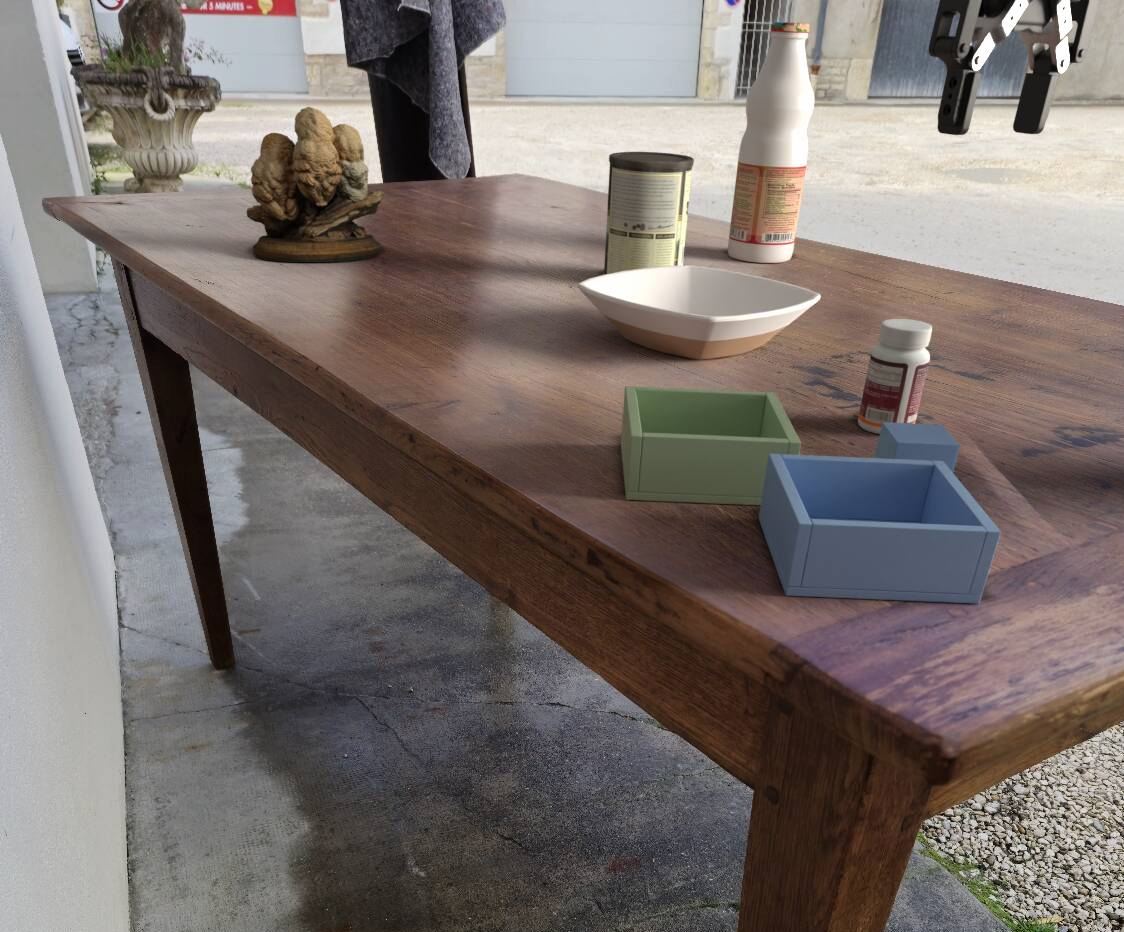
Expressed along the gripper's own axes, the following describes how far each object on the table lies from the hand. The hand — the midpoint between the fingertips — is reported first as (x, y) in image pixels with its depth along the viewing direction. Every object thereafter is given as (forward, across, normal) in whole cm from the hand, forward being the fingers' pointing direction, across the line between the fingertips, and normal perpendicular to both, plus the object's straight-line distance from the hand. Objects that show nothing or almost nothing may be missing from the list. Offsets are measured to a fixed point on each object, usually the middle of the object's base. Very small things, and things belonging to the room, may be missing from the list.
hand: (990, 133), depth 75 cm
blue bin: (+22, -24, -16) cm, 36 cm away
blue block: (+22, -12, -9) cm, 26 cm away
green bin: (+22, -23, +1) cm, 32 cm away
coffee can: (+22, +15, +59) cm, 64 cm away
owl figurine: (+22, -16, +90) cm, 94 cm away
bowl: (+22, +1, +32) cm, 39 cm away
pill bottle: (+22, -2, +2) cm, 22 cm away
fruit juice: (+22, +41, +65) cm, 80 cm away
